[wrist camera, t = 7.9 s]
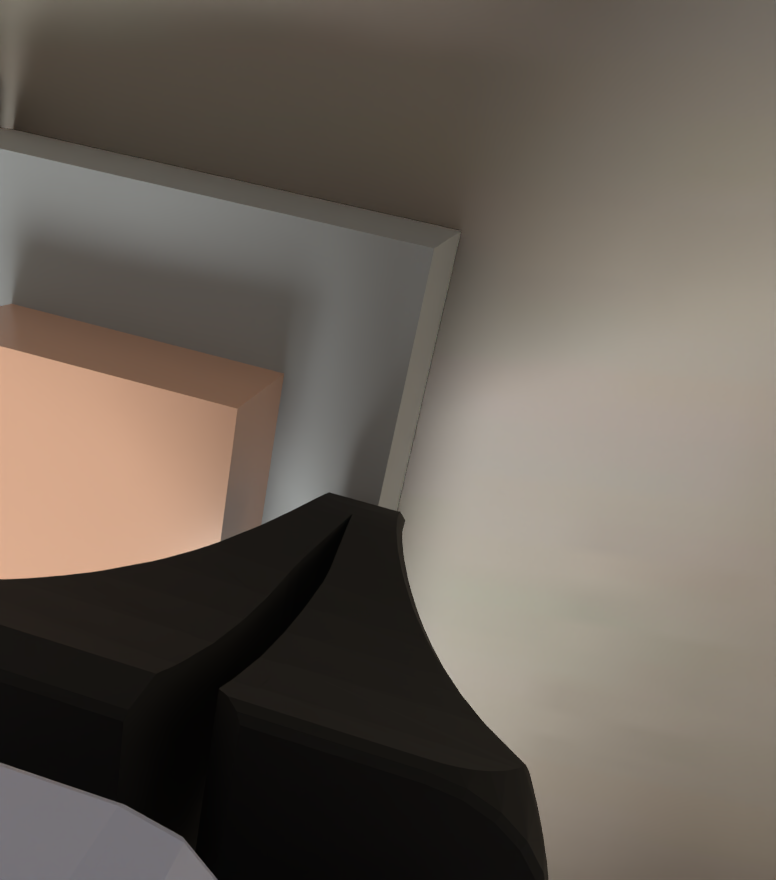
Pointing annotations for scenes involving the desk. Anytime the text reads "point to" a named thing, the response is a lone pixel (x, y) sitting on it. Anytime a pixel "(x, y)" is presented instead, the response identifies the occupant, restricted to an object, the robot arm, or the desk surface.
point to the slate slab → (242, 295)
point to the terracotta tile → (123, 446)
